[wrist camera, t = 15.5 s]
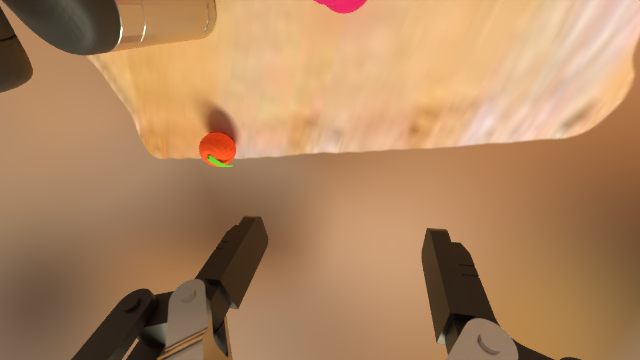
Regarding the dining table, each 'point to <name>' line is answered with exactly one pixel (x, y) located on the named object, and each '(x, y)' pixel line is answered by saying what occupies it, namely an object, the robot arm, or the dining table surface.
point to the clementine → (217, 149)
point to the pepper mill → (342, 5)
